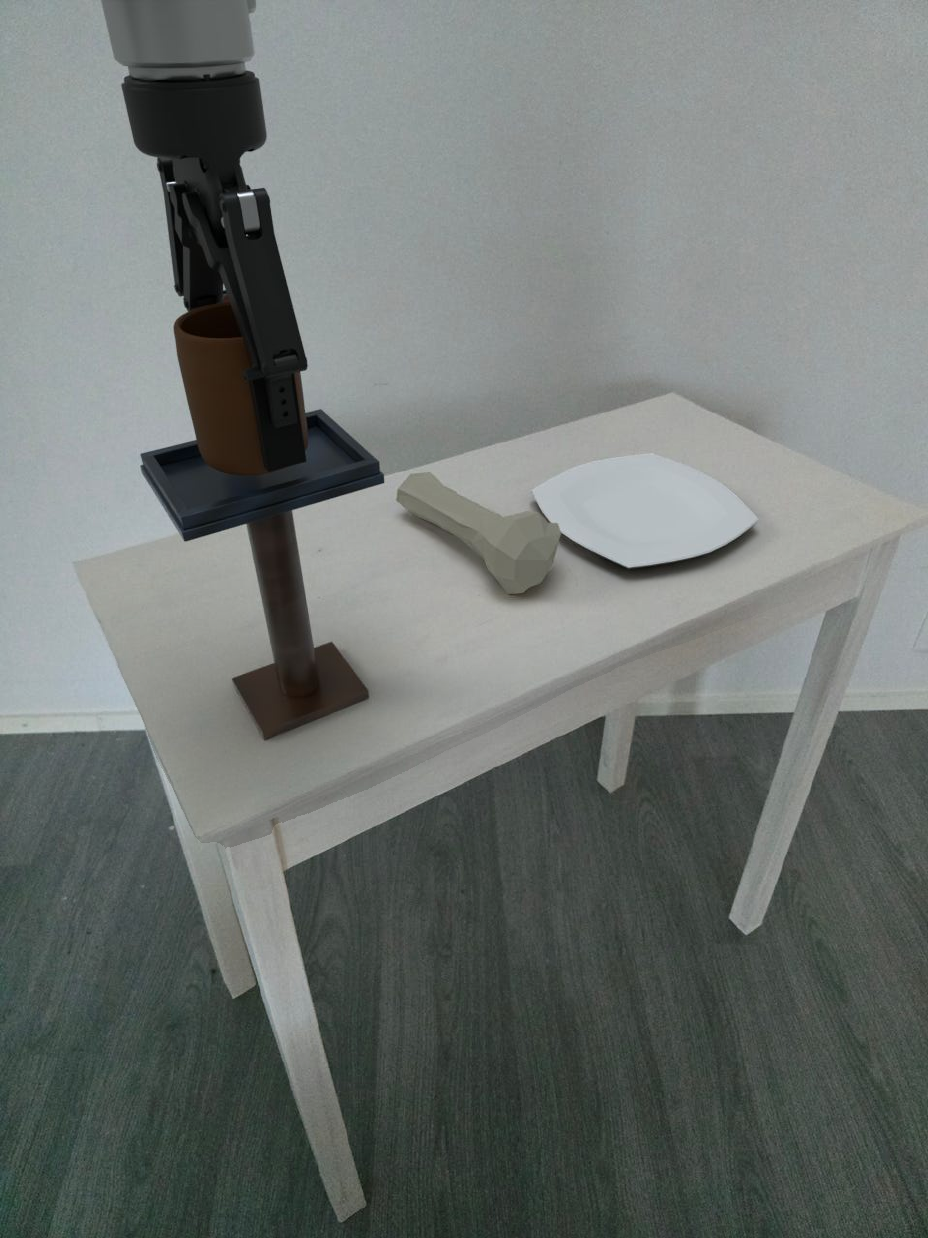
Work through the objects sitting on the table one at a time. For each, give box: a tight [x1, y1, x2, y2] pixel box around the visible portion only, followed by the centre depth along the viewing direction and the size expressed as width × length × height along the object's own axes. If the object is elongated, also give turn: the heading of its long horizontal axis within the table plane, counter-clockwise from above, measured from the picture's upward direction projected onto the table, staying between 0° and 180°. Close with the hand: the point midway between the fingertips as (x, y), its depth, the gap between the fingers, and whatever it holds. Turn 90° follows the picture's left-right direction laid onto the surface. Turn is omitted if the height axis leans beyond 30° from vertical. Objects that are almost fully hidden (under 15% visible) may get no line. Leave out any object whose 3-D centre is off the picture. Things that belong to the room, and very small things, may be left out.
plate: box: [530, 452, 760, 570], centre depth 98 cm, size 23×23×2 cm
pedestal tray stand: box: [140, 408, 385, 741], centre depth 69 cm, size 15×11×24 cm
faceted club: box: [396, 471, 562, 595], centre depth 92 cm, size 9×8×25 cm
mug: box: [173, 295, 308, 476], centre depth 58 cm, size 12×8×9 cm, turn 12°
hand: (253, 430), depth 60 cm, fingers closed on mug, 12 cm apart
